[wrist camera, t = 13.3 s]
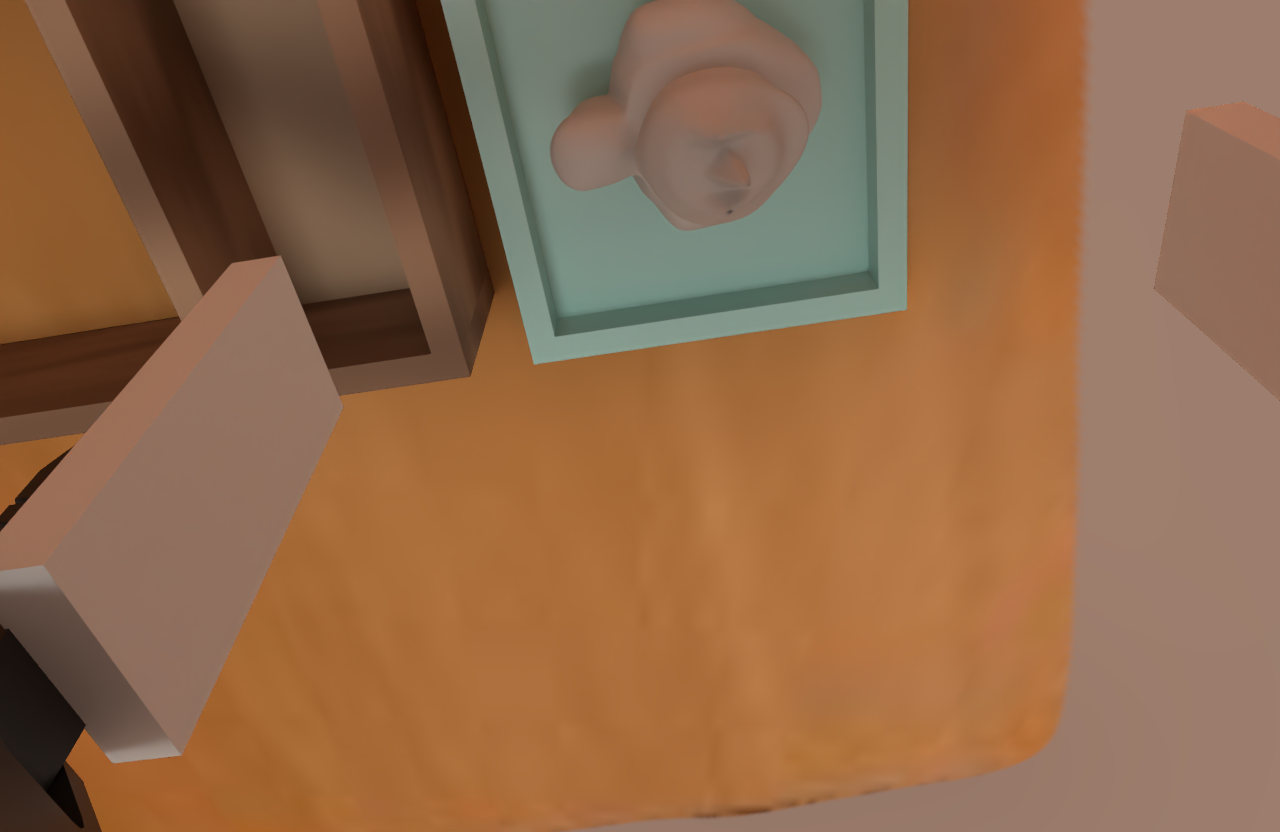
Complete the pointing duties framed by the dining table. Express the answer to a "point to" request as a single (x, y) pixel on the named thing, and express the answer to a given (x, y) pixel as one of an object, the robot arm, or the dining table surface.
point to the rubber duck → (695, 113)
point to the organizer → (266, 187)
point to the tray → (636, 229)
